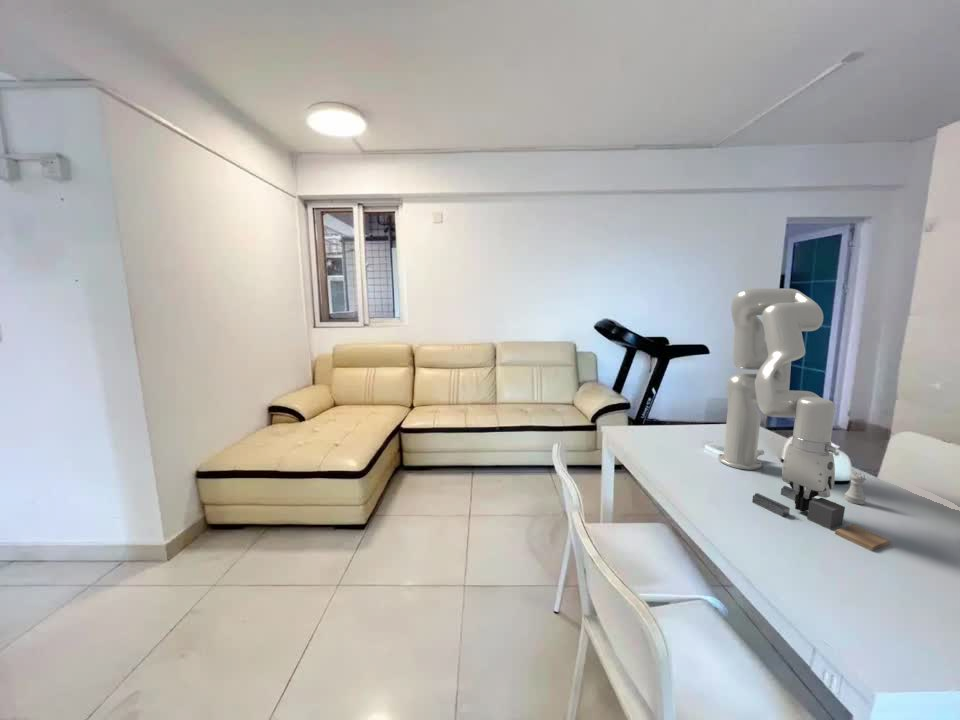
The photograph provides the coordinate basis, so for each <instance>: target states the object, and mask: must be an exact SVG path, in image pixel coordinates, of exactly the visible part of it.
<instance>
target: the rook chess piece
mask: <svg viewBox="0 0 960 720" xmlns="http://www.w3.org/2000/svg"><path fill="white" fill-rule="evenodd" d="M849 476H850V478H851V480H850V486H849V488H848V489H847V491H846V492H844V499H845V501H847V502H849V503H851V504H853V505H854V504H855V505H859V504H860V505H862V506H863V505H864V504H866V503H867V502H866V499H867V498H866V496H865V494H864V485H865V483H864V482H865V481H867V478H866V475H865V474H862V473H858V474H857V472H852V474H850V475H849ZM860 505H859V506H860Z"/></svg>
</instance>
